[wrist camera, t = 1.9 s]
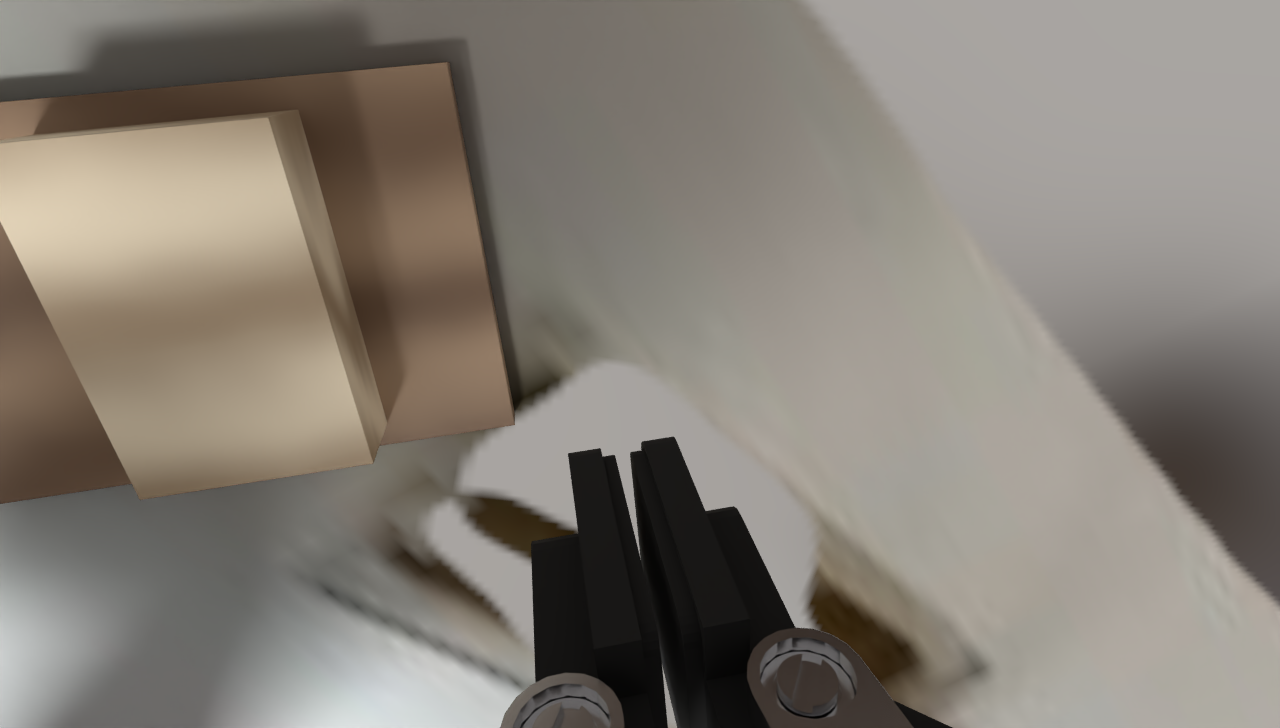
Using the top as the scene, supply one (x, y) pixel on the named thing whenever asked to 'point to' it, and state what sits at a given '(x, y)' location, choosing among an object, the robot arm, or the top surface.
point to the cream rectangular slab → (197, 296)
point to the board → (366, 240)
